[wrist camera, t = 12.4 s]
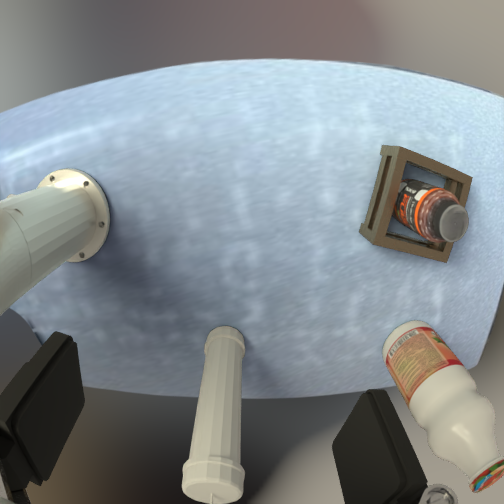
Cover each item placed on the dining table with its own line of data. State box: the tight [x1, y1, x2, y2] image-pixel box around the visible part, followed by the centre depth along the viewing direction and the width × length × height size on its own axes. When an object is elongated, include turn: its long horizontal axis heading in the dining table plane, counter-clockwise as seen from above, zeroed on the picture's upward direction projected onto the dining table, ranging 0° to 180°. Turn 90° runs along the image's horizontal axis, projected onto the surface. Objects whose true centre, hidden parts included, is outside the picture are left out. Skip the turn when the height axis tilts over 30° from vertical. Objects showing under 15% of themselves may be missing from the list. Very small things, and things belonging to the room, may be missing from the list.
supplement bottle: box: [392, 179, 469, 243], centre depth 32 cm, size 6×6×11 cm
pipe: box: [182, 326, 245, 504], centre depth 30 cm, size 6×6×30 cm
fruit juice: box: [382, 320, 504, 493], centre depth 32 cm, size 9×9×28 cm
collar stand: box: [359, 145, 473, 263], centre depth 35 cm, size 12×11×5 cm
